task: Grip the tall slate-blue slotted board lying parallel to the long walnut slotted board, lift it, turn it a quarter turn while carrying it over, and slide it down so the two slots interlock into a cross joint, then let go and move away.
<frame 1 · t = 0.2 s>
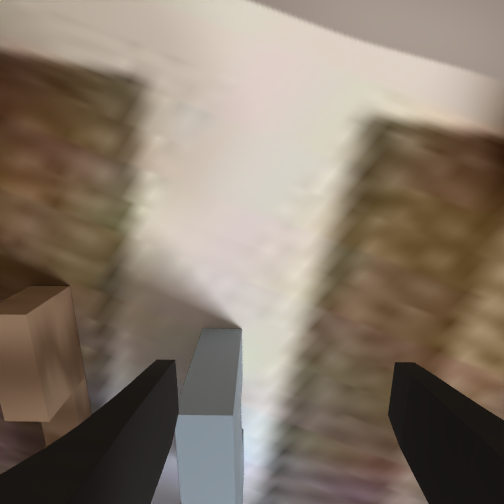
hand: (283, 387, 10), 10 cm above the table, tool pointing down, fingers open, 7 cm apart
crosspiece: (224, 404, 23), on the table
base rail: (71, 403, 23), on the table
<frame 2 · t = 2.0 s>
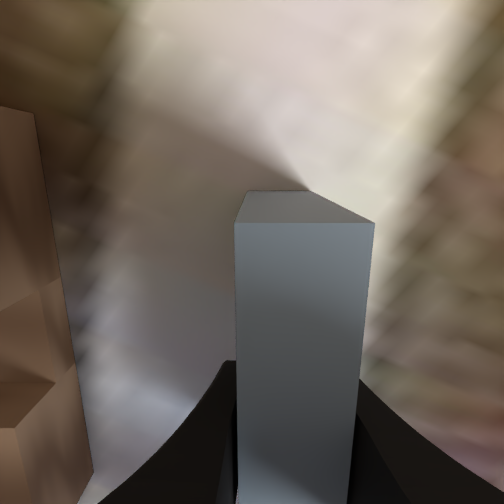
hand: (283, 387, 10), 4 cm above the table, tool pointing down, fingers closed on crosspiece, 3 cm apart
crosspiece: (276, 323, 15), on the table, touching gripper
base rail: (40, 321, 15), on the table
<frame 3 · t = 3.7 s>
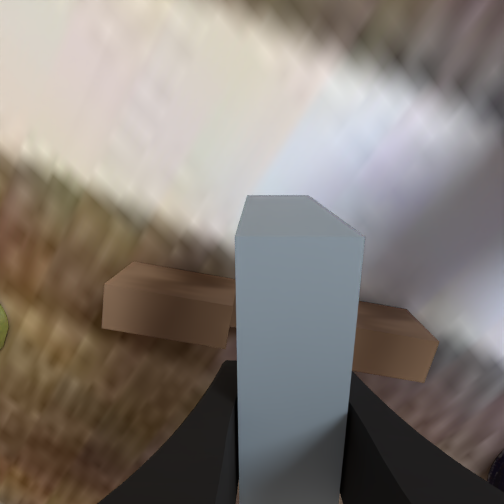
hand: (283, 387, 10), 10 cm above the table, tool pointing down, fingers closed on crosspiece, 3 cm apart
crosspiece: (275, 322, 15), point 6 cm above the table, touching gripper
base rail: (267, 303, 21), on the table
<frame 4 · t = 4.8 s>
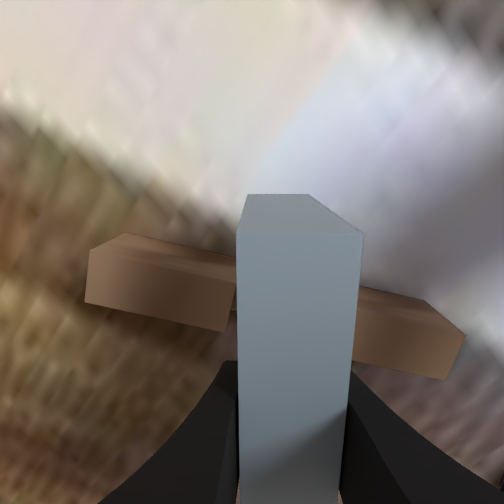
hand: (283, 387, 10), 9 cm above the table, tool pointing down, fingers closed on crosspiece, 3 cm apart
crosspiece: (275, 320, 15), point 4 cm above the table, touching gripper
base rail: (272, 287, 19), on the table
when the fingers open (5 cm above the table, at t = 5.8 s): crosspiece stays where it is, on the table.
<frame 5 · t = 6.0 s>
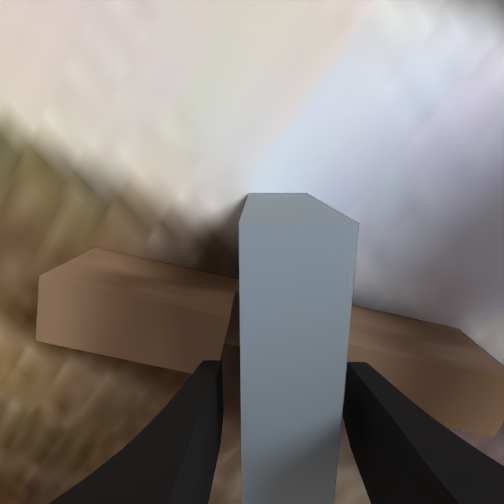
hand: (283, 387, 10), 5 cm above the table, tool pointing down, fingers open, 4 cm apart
crosspiece: (275, 316, 16), on the table
base rail: (275, 313, 16), on the table
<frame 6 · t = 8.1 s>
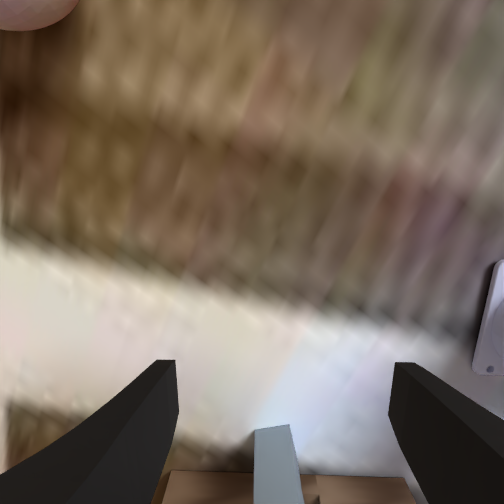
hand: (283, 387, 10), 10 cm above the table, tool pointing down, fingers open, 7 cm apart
crosspiece: (286, 488, 25), on the table
base rail: (286, 487, 25), on the table
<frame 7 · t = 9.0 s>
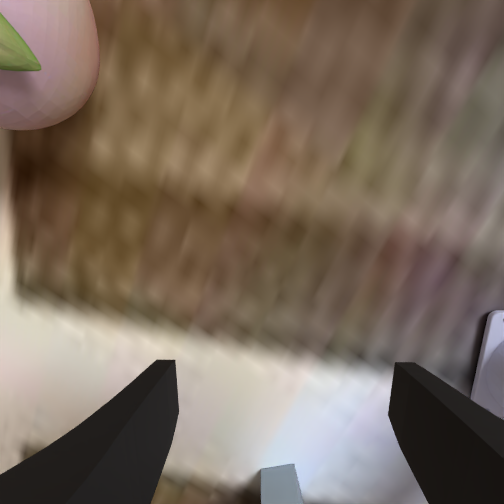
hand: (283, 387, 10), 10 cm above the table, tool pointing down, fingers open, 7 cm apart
decorative fruit: (55, 52, 18), on the table
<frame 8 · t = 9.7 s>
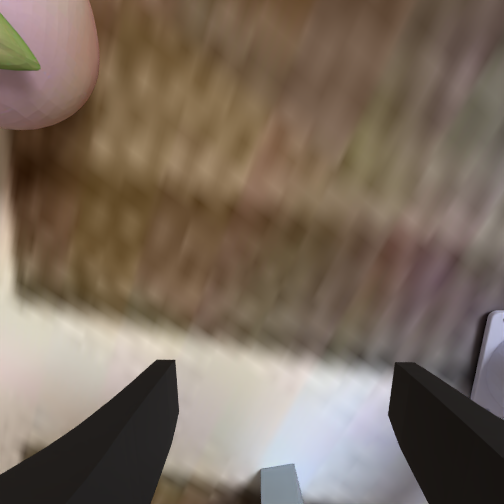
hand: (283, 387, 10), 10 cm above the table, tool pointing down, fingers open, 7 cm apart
decorative fruit: (55, 52, 18), on the table
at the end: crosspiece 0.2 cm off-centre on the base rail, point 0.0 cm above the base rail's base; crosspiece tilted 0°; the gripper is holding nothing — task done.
